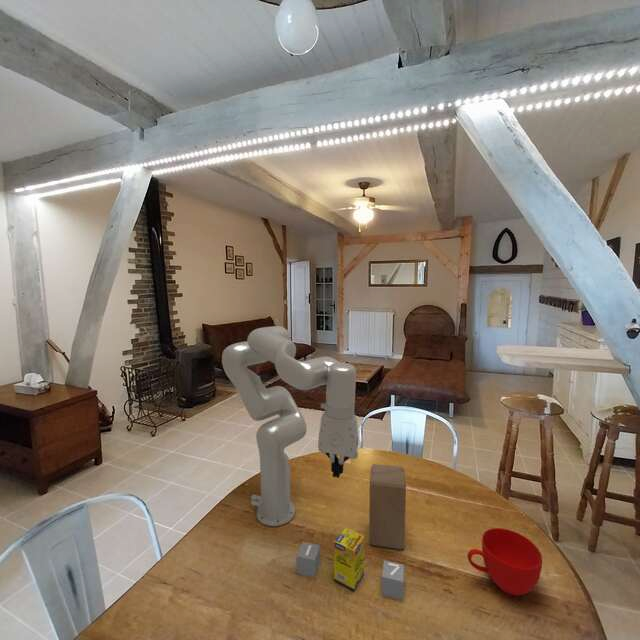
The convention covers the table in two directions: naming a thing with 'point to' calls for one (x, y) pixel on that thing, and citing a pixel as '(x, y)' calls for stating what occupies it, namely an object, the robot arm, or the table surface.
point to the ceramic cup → (509, 560)
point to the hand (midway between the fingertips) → (337, 474)
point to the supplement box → (349, 558)
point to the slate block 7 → (393, 580)
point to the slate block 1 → (308, 559)
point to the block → (387, 506)
